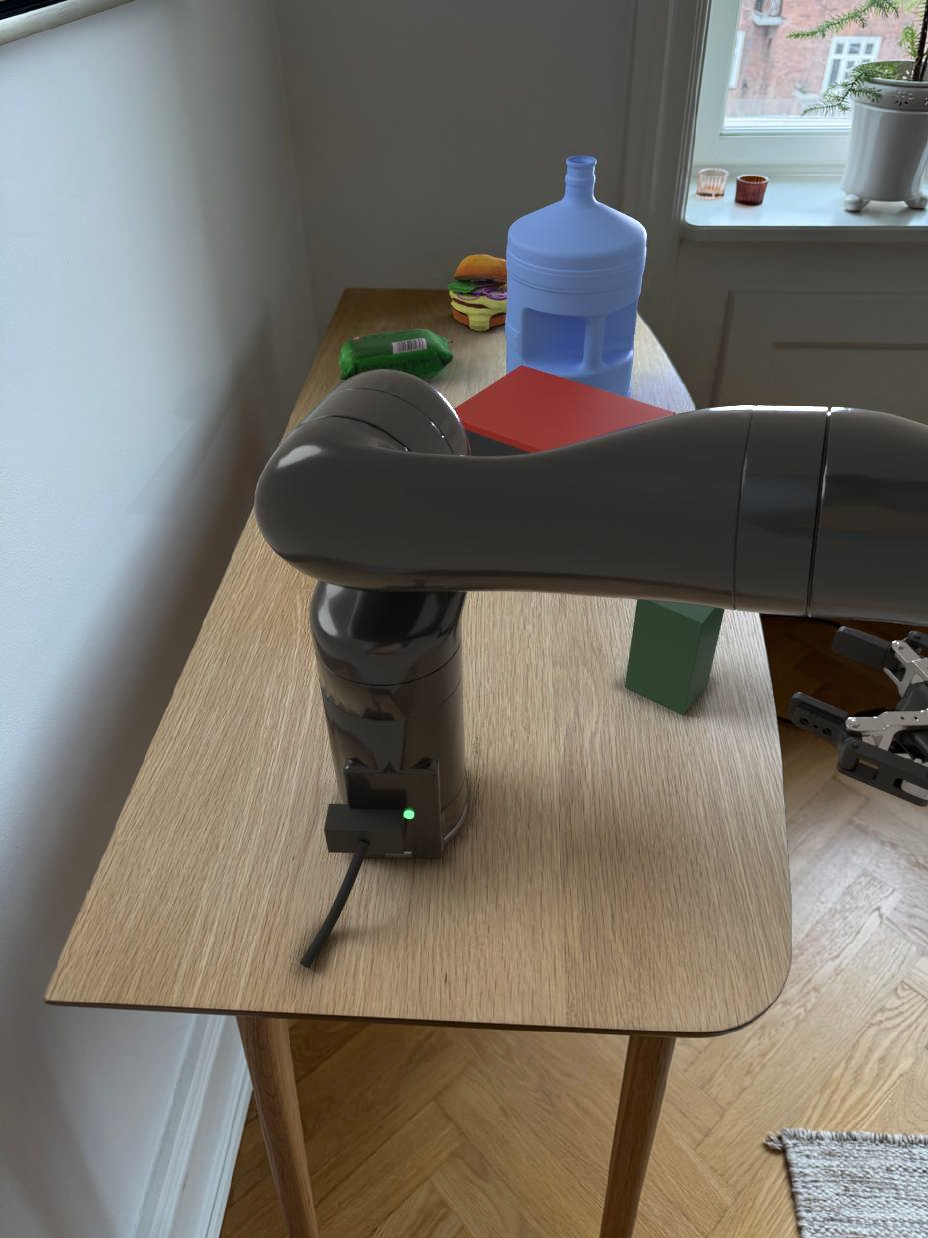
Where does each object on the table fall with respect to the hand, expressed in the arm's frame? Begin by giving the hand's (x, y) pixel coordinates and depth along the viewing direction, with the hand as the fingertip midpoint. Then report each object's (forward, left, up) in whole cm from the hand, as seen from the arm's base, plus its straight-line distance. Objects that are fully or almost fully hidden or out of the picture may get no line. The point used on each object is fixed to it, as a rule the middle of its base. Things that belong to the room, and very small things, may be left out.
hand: (813, 669), depth 67 cm
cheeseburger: (+82, +26, -8) cm, 86 cm away
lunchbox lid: (+33, +17, +2) cm, 38 cm away
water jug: (+56, +15, -8) cm, 59 cm away
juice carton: (+6, +9, -8) cm, 13 cm away
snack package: (+63, +37, -8) cm, 74 cm away
